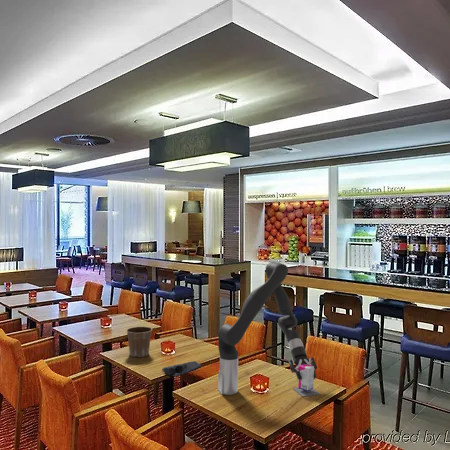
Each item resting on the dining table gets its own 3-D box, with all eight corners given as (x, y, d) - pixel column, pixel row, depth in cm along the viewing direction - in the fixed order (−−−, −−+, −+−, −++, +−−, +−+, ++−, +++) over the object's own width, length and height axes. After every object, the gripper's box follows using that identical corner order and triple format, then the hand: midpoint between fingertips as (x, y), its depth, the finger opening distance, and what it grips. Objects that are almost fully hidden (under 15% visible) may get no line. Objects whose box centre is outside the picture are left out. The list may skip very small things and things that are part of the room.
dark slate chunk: (205, 370, 235) (205, 361, 235) (173, 379, 221) (173, 370, 221) (189, 363, 247) (190, 355, 247) (158, 371, 232) (158, 362, 232)
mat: (302, 396, 200) (302, 396, 200) (292, 388, 209) (292, 388, 209) (320, 394, 203) (320, 393, 203) (309, 386, 212) (309, 386, 212)
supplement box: (314, 388, 206) (314, 365, 206) (308, 391, 202) (308, 368, 202) (304, 385, 210) (304, 363, 210) (297, 388, 206) (298, 365, 206)
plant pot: (120, 354, 259) (121, 329, 259) (141, 349, 271) (142, 325, 271) (135, 360, 248) (136, 334, 248) (156, 354, 260) (157, 329, 260)
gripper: (287, 346, 211) (297, 377, 200) (311, 344, 215) (323, 374, 204) (282, 353, 216) (292, 383, 205) (306, 351, 220) (317, 380, 209)
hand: (307, 378), depth 205 cm, fingers closed on supplement box, 7 cm apart
